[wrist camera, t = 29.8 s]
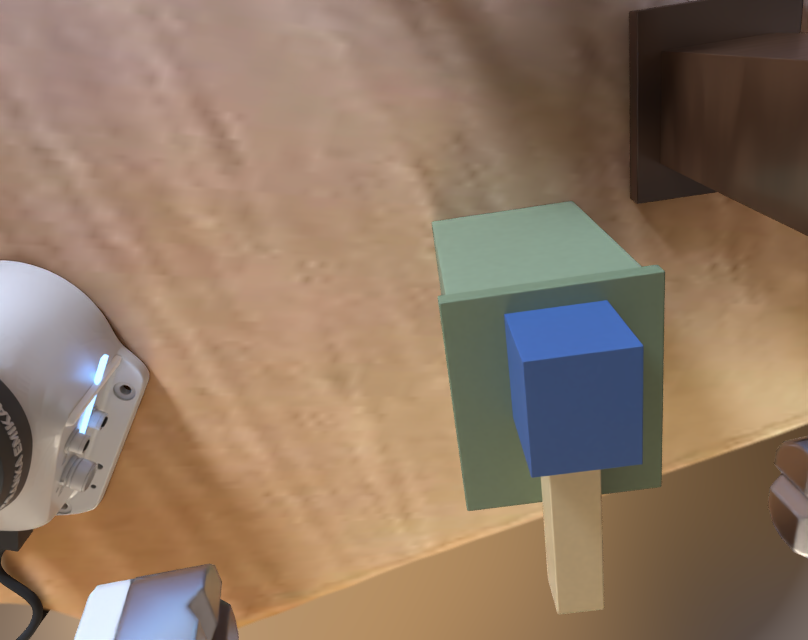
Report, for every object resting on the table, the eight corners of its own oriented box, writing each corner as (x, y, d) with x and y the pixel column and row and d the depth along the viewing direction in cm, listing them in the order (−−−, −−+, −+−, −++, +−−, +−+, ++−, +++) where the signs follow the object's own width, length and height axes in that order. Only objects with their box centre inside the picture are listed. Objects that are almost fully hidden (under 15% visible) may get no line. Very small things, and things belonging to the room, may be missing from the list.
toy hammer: (612, 571, 38) (641, 644, 33) (527, 581, 38) (545, 655, 34) (607, 299, 31) (644, 345, 26) (503, 313, 31) (522, 361, 27)
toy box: (584, 355, 50) (662, 487, 36) (446, 374, 51) (467, 512, 36) (578, 194, 45) (665, 270, 30) (425, 216, 46) (438, 302, 31)
